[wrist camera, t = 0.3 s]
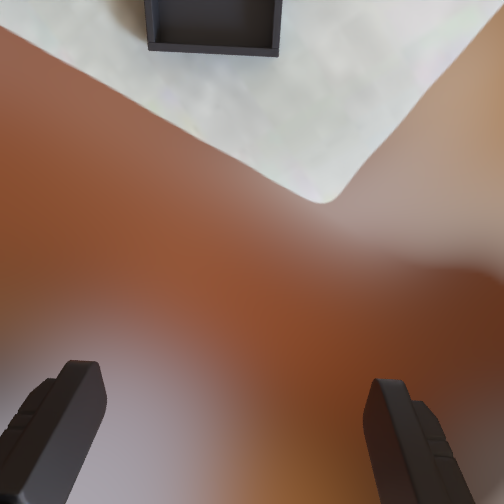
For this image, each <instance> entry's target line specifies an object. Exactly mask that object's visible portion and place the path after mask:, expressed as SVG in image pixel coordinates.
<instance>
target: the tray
mask: <svg viewBox="0 0 504 504" xmlns="http://www.w3.org/2000/svg"><path fill="white" fill-rule="evenodd" d="M144 5H145V17H146V28H147V40H148V50H149V51H165V52H185V53H205V54H225V55H245V56H265V57H278V56H279V43H280V28H281V14H282V0H144Z"/></svg>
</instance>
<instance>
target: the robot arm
mask: <svg viewBox="0 0 504 504" xmlns="http://www.w3.org/2000/svg"><path fill="white" fill-rule="evenodd" d="M106 405H107V395H106V391H105V387H104V383H103V379H102V375H101V371H100V366H99V364H98V363H97V362H95V361H78V360H70V361H68V362H67V363H66V364H65V366H64V367H63V369H62V370H61V372H60V373H59V375H58V376H57V378H56V379H53V378H47V379H46V380H45V381H44V382H42V383H41V384H40V385H39V386H38V387H37V388H35V389H34V390H33V391H32V392H31V393H30V394H29V395H28V397H27V398H26V400H25V401H24V402H23V404H22V405H21V407H20V408H19V410H18V413H17V414H15V416H14V417H13V419H12V420H11V422H10V423H9V425H8V428H7V429H6V430H4V432H3V433H2V435H1V436H0V504H65V503H66V501H67V499H68V496H69V494H70V492H71V490H72V488H73V485H74V483H75V481H76V478H77V476H78V474H79V472H80V469H81V467H82V465H83V463H84V460H85V458H86V456H87V454H88V451H89V449H90V447H91V444H92V442H93V440H94V438H95V435H96V433H97V430H98V429H99V426H100V424H101V421H102V419H103V417H104V414H105V410H106ZM363 428H364V435H365V439H366V443H367V447H368V452H369V456H370V460H371V464H372V468H373V472H374V477H375V481H376V485H377V488H378V493H379V497H380V502H381V504H475V502H474V500H473V497H472V495H471V493H470V491H469V488H468V486H467V484H466V482H465V480H464V477H463V475H462V473H461V470H460V468H459V466H458V464H457V461H456V459H455V458H454V457H453V452H452V450H451V448H450V446H449V443H448V442H447V441H446V437H445V434H444V432H443V430H442V428H441V425H440V423H439V421H438V419H437V418H436V416H435V415H434V414H433V413H432V412H431V410H430V409H429V408H428V407H427V406H426V405H425V404H424V402H423V401H413V400H411V399H410V395H409V393H408V390H407V388H406V386H405V384H404V382H403V381H402V380H393V379H374V380H373V382H372V385H371V389H370V392H369V395H368V399H367V402H366V405H365V409H364V413H363Z"/></svg>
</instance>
